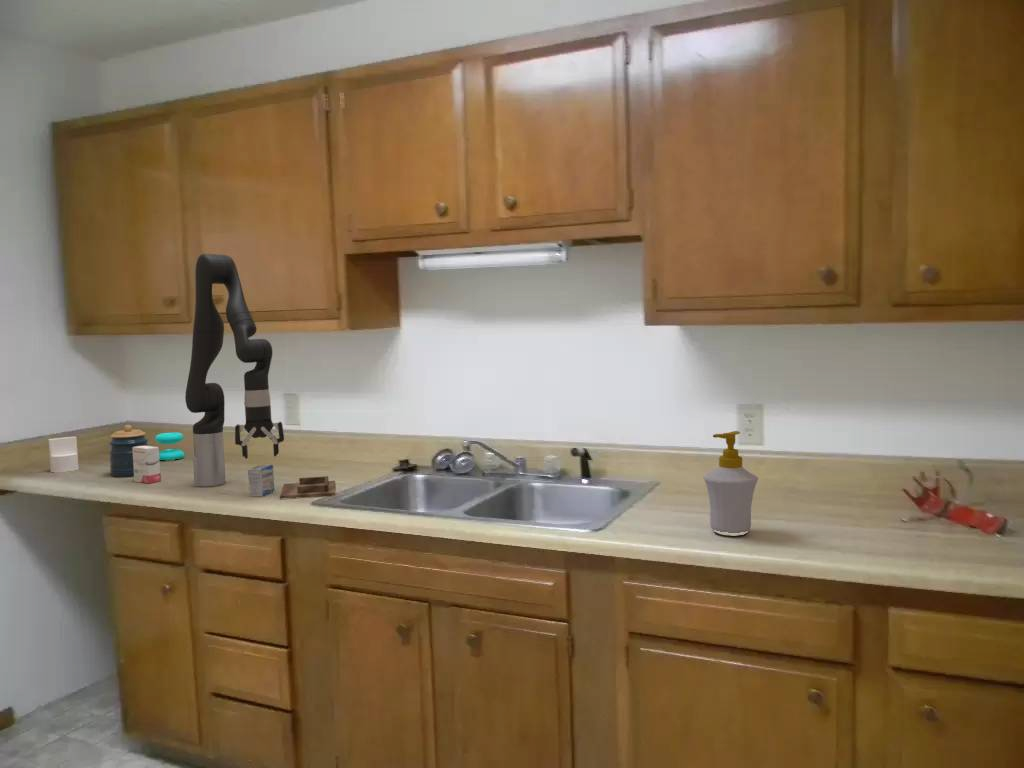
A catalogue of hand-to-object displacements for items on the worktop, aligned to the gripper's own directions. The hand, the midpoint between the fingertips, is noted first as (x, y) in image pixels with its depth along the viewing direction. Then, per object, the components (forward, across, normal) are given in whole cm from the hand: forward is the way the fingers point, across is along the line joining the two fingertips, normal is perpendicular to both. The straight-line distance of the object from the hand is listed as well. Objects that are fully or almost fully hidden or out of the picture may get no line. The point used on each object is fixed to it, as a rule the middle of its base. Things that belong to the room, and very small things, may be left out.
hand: (260, 457), depth 251 cm
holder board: (+12, -14, 0) cm, 18 cm away
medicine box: (+12, 0, 0) cm, 12 cm away
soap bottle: (+14, -115, +80) cm, 141 cm away
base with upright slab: (+10, +75, -64) cm, 100 cm away
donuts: (+10, +41, -77) cm, 88 cm away
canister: (+11, +49, -49) cm, 71 cm away
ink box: (+11, +40, -33) cm, 53 cm away
